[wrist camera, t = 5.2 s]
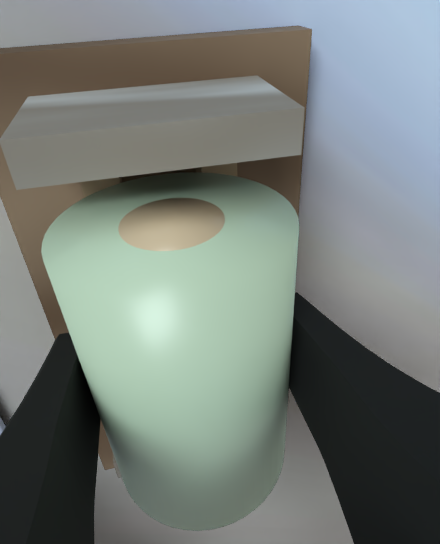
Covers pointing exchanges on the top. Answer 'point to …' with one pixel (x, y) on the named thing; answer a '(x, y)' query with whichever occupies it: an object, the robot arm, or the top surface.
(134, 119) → the holder
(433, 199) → the top surface
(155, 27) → the top surface
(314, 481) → the top surface
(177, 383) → the roll
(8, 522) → the robot arm
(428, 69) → the top surface
